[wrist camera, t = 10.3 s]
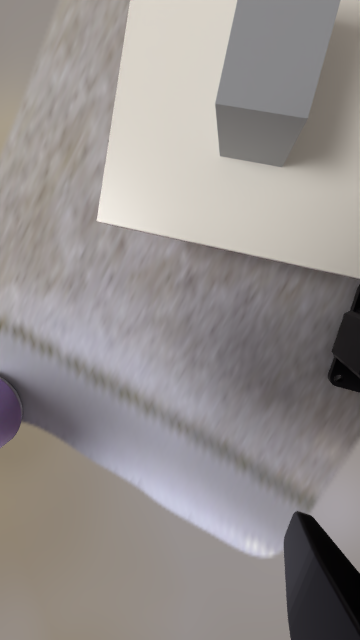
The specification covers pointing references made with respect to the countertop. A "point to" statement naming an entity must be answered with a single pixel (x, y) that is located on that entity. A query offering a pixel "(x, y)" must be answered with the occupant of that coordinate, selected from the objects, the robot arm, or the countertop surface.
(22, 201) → the countertop surface
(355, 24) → the cover sheet
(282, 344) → the countertop surface
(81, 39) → the countertop surface
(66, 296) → the countertop surface
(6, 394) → the beverage can
